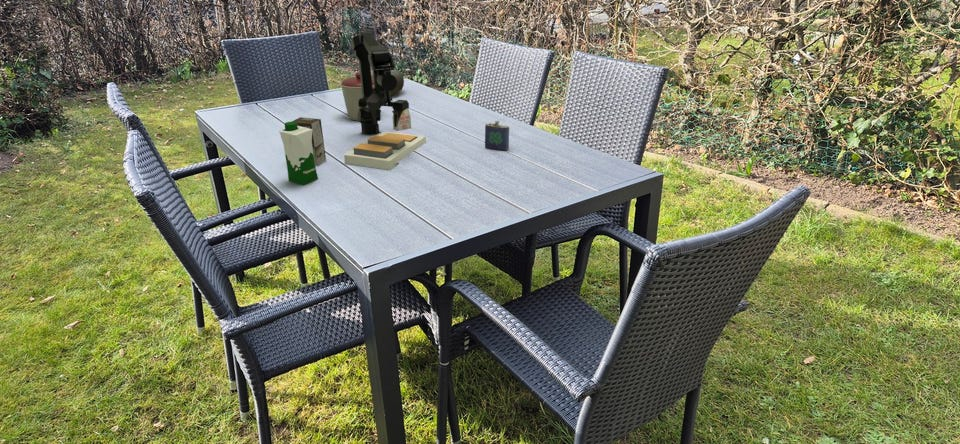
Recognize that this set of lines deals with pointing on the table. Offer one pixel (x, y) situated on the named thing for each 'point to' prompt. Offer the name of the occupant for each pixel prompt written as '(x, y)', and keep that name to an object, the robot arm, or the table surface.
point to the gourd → (400, 81)
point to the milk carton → (299, 153)
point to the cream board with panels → (389, 161)
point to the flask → (497, 137)
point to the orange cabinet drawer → (401, 136)
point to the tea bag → (403, 121)
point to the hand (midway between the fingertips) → (385, 125)
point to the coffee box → (314, 137)
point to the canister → (352, 94)
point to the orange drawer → (387, 141)
